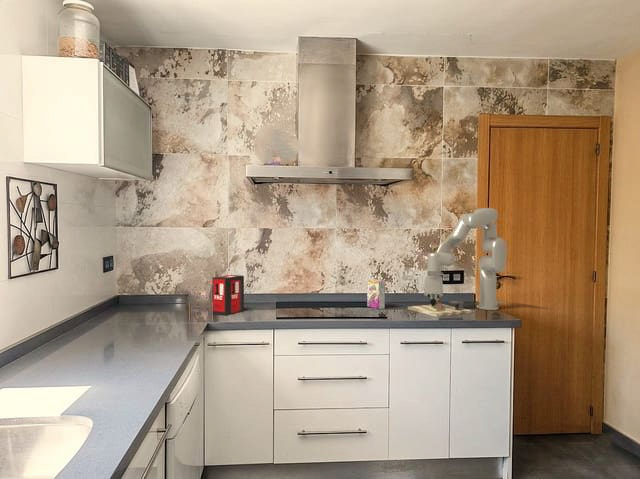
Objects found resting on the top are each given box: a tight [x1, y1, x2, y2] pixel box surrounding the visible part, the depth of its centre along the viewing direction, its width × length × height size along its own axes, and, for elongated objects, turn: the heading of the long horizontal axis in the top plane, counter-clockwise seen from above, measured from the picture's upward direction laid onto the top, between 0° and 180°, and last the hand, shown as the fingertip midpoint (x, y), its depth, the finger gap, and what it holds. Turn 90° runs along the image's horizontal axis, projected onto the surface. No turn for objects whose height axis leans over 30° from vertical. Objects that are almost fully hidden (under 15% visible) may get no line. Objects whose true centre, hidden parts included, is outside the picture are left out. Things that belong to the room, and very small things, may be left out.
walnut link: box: [435, 298, 443, 310], centre depth 286 cm, size 20×5×4 cm, turn 169°
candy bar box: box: [366, 278, 386, 310], centre depth 293 cm, size 11×5×16 cm, turn 34°
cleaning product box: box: [211, 274, 245, 317], centre depth 271 cm, size 16×9×20 cm, turn 154°
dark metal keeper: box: [447, 300, 465, 310], centre depth 280 cm, size 9×4×4 cm, turn 118°
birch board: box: [407, 303, 473, 317], centre depth 284 cm, size 26×25×2 cm
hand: (432, 306), depth 284 cm, fingers closed
